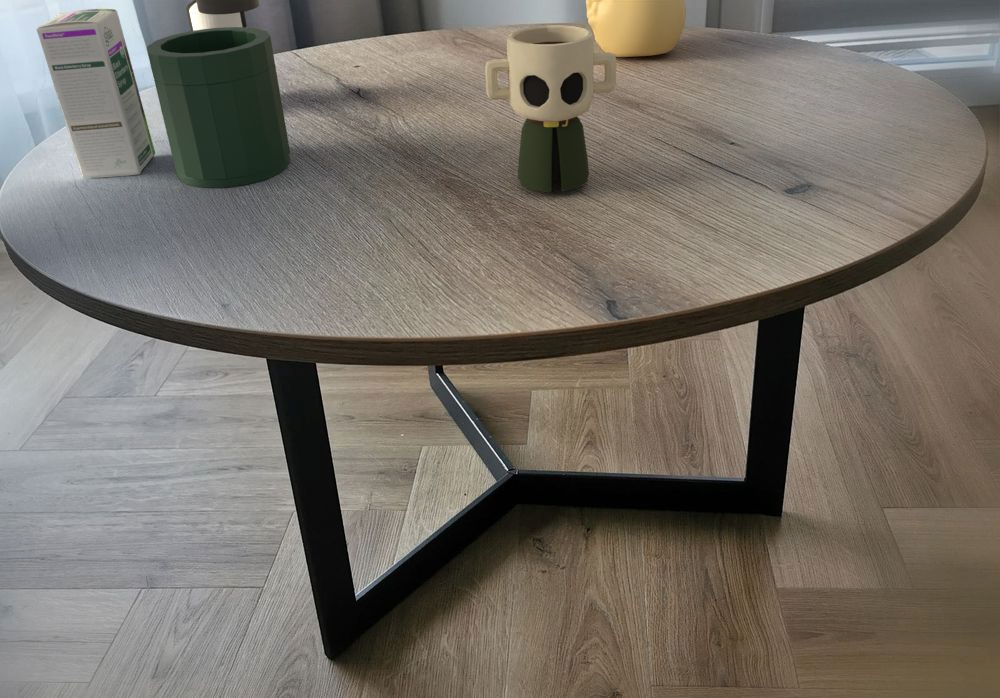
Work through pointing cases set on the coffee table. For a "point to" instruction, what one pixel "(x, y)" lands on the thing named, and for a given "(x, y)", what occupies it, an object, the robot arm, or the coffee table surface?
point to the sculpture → (636, 25)
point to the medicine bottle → (213, 19)
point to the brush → (225, 6)
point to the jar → (221, 105)
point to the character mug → (551, 100)
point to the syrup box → (97, 92)
